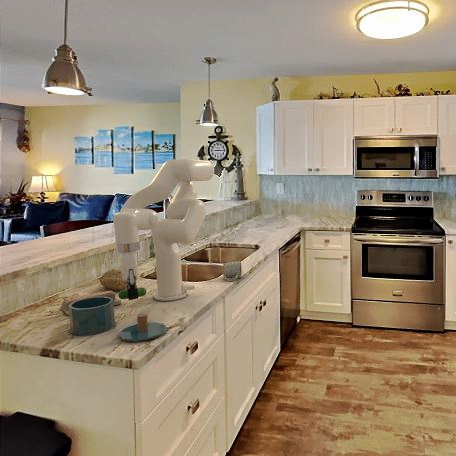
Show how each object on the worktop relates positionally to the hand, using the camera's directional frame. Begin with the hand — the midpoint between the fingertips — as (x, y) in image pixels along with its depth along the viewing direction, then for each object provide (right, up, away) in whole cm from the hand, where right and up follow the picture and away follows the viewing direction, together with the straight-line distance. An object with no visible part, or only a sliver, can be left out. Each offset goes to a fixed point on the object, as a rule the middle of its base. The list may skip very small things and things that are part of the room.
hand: (132, 296), depth 147 cm
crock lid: (+11, -8, -18) cm, 22 cm away
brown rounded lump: (-22, -1, +33) cm, 40 cm away
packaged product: (-19, -5, +7) cm, 21 cm away
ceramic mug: (+26, +1, +47) cm, 54 cm away
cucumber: (0, 0, 0) cm, 0 cm away
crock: (-7, -8, -12) cm, 16 cm away
